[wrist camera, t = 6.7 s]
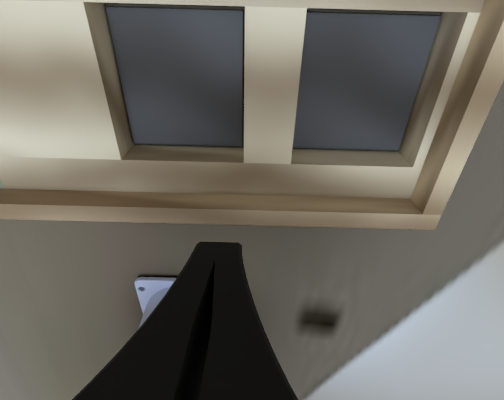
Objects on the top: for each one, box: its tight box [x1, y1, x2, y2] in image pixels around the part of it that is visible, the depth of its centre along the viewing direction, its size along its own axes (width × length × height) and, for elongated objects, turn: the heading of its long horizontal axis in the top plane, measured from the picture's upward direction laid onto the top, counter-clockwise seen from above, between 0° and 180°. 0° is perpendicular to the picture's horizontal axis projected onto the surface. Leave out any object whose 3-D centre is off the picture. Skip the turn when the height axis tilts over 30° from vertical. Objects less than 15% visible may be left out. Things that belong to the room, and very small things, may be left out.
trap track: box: [0, 0, 504, 230], centre depth 14 cm, size 13×32×4 cm, turn 89°
